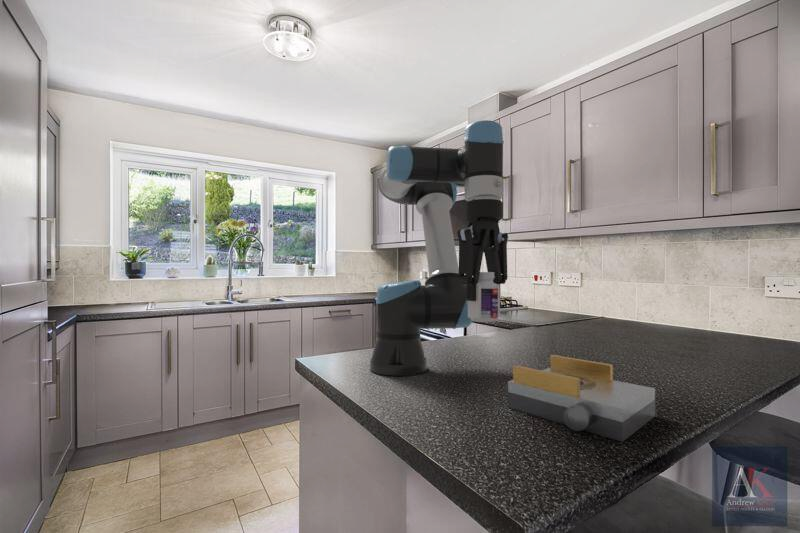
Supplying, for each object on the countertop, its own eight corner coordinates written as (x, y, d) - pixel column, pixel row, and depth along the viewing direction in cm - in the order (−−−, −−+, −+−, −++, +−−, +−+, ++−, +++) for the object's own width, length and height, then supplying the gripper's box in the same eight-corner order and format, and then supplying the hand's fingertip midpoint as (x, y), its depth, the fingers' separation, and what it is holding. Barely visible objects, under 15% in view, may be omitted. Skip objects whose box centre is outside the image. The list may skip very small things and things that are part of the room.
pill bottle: (498, 322, 75) (498, 272, 75) (469, 322, 76) (469, 272, 76) (497, 319, 80) (497, 272, 80) (471, 318, 81) (470, 272, 81)
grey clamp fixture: (499, 411, 72) (498, 368, 72) (549, 390, 85) (549, 353, 85) (615, 447, 57) (615, 393, 58) (655, 416, 70) (654, 371, 70)
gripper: (469, 191, 69) (469, 322, 69) (525, 203, 82) (526, 315, 81) (438, 197, 75) (438, 318, 75) (495, 208, 87) (495, 312, 87)
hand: (484, 316), depth 78 cm, fingers closed on pill bottle, 5 cm apart
